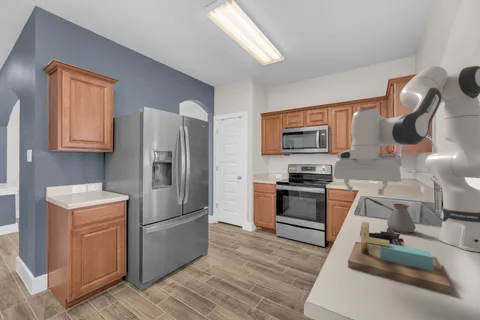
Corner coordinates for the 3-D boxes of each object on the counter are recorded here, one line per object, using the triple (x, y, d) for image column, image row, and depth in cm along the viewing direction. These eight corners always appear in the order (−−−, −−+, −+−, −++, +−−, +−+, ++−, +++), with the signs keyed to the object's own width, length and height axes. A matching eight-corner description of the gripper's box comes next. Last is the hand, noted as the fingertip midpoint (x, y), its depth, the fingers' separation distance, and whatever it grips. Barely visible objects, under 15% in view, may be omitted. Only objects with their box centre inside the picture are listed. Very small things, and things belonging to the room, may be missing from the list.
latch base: (436, 263, 71) (436, 257, 71) (451, 293, 54) (451, 286, 54) (355, 246, 84) (355, 241, 84) (348, 266, 68) (348, 260, 68)
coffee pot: (416, 230, 105) (416, 200, 105) (415, 236, 96) (415, 203, 96) (367, 222, 119) (367, 195, 119) (362, 226, 110) (362, 198, 110)
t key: (389, 253, 73) (389, 225, 73) (389, 261, 67) (389, 231, 67) (362, 248, 78) (362, 221, 78) (360, 254, 72) (360, 226, 72)
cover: (430, 264, 66) (430, 251, 66) (432, 270, 62) (432, 257, 62) (380, 253, 73) (380, 242, 73) (380, 258, 69) (380, 246, 69)
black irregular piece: (361, 238, 82) (409, 245, 75) (359, 221, 99) (398, 225, 92) (361, 251, 83) (409, 260, 76) (359, 231, 100) (398, 237, 93)
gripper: (401, 154, 71) (401, 194, 71) (336, 154, 83) (336, 189, 83) (402, 153, 66) (402, 197, 66) (332, 154, 78) (332, 191, 77)
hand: (365, 193), depth 74 cm, fingers open, 8 cm apart
